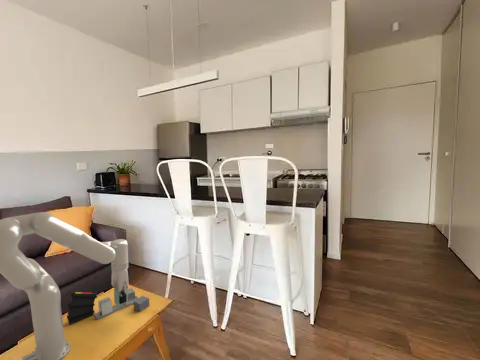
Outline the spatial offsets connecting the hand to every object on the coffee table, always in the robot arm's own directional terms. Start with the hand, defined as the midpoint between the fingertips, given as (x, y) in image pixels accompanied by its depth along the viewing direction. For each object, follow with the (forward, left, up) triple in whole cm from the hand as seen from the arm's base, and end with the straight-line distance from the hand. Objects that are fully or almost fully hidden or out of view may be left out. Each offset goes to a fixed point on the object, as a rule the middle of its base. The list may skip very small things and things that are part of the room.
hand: (121, 300), depth 126 cm
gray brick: (+11, +3, -11) cm, 16 cm away
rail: (+2, +12, -10) cm, 16 cm away
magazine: (-13, +17, -11) cm, 24 cm away
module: (0, 0, -1) cm, 1 cm away
